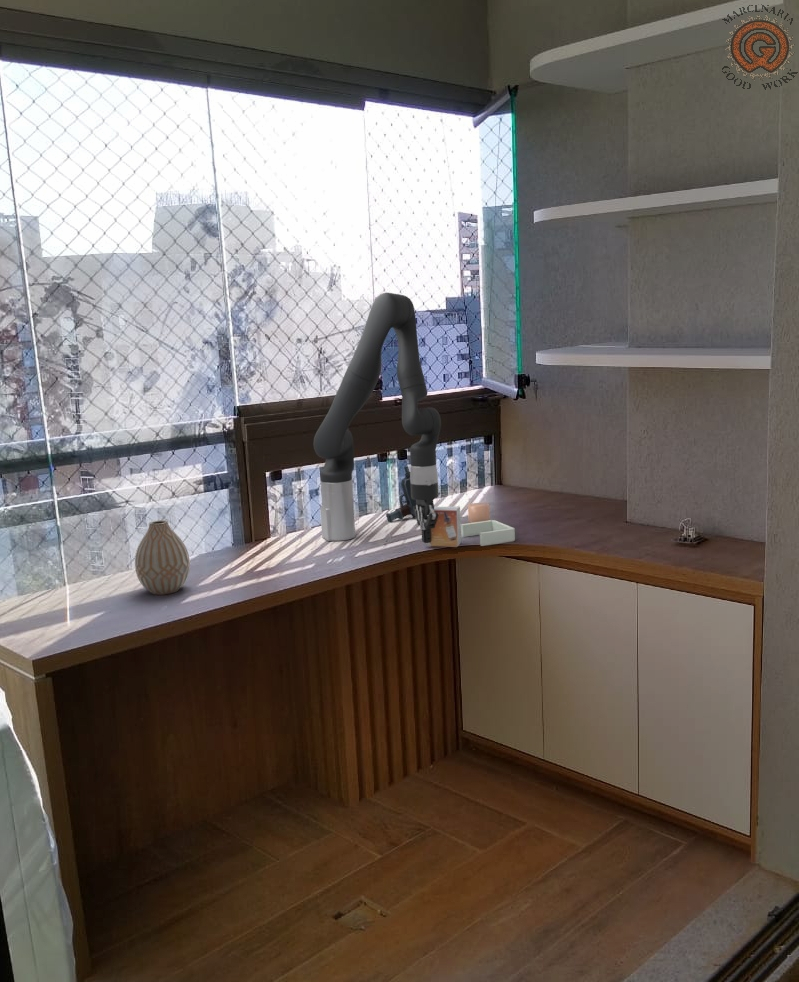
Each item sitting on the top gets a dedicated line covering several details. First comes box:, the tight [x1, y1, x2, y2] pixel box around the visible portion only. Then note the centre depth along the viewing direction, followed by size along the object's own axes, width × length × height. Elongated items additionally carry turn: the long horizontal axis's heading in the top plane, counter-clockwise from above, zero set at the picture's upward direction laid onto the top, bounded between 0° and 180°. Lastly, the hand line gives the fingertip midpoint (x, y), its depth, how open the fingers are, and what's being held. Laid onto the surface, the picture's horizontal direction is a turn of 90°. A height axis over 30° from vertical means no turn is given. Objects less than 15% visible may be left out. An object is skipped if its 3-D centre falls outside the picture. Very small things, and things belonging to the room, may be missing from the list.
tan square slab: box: [467, 502, 491, 523], centre depth 284 cm, size 6×6×7 cm
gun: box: [385, 465, 417, 523], centre depth 299 cm, size 3×17×15 cm
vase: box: [134, 519, 191, 596], centre depth 233 cm, size 13×13×18 cm
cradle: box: [460, 519, 516, 547], centre depth 271 cm, size 11×13×4 cm
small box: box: [429, 505, 462, 548], centre depth 265 cm, size 8×6×10 cm
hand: (426, 542), depth 264 cm, fingers closed
